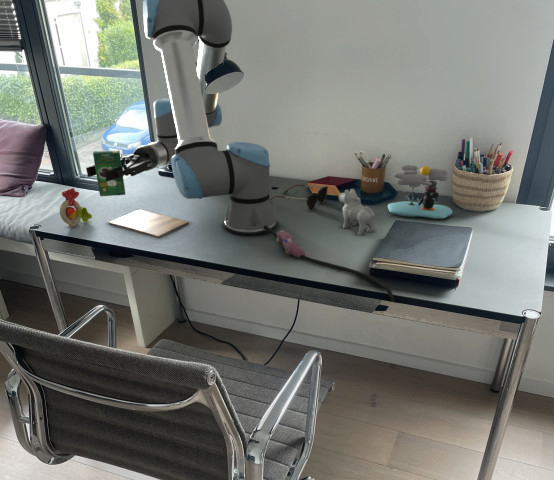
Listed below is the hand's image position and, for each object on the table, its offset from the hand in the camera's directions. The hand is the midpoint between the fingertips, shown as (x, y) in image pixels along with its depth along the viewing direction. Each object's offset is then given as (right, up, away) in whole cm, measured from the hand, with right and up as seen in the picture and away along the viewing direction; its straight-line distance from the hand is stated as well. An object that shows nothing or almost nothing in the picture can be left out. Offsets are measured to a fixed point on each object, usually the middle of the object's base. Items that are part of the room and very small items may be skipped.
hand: (97, 174), depth 169 cm
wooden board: (+15, -14, +1) cm, 21 cm away
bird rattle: (-6, -15, +1) cm, 16 cm away
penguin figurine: (+98, -10, +7) cm, 99 cm away
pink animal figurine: (+58, -27, -16) cm, 66 cm away
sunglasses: (+61, -4, +16) cm, 63 cm away
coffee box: (+3, -4, +8) cm, 9 cm away
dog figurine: (+77, -17, -2) cm, 79 cm away
